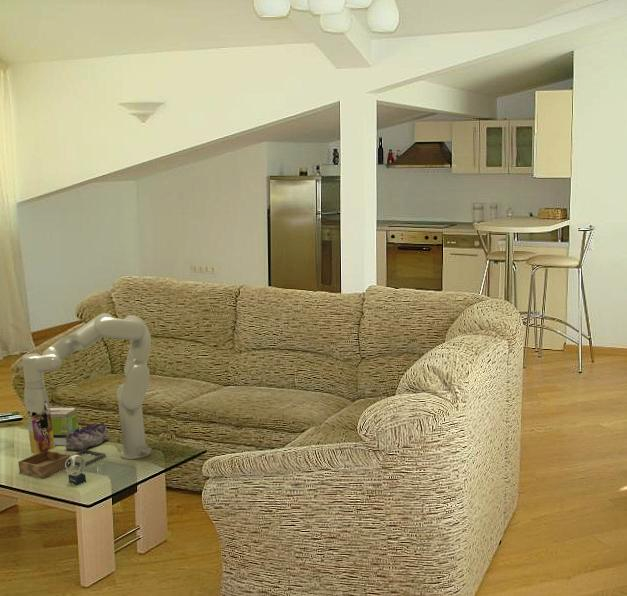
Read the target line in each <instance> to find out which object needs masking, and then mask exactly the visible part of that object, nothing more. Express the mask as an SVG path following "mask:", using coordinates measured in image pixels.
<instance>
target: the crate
mask: <svg viewBox="0 0 627 596" xmlns="http://www.w3.org/2000/svg"><path fill="white" fill-rule="evenodd" d="M70 456H71V454H67V453H62V452H57V451H53V450H48V451H45V452H42V453H39V454H33V455H31V456H28V457H26V458H23V459H21V460H19V461H18V470H19V474H21V473H22V475H26V476H30V477H34V476H35V477H36V478H38V477H39V478H40V479H43V480H44V479H47V478H49V477H52V476H53V475H56V474H57V472H58V473H60V472H62V471H64V470H66V469H65V462H66V460H67V459H68V458H70ZM63 469H64V470H63ZM61 470H62V471H61ZM59 471H60V472H59ZM55 473H56V474H55ZM46 477H47V478H46Z"/></svg>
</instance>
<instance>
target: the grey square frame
mask: <svg viewBox="0 0 627 596" xmlns="http://www.w3.org/2000/svg"><path fill="white" fill-rule="evenodd" d="M85 453H86V454H85ZM82 454H83V455H88V454H91V455H90V456H93V455H95V456H94V458H91V459H89V460H87V461H85V466H86V467H88V466H90V465H92V464H94V463H93V462H95V463H97V462H99V461H101V460H103V459H105V458H107V455H106V454H107V453H103V452H99V451H93V450H87V449H85V450H82V451H79V452H76V453H74V454H72V455H71V454H70V457H71V456H73V455H79V456H80V455H81V456H83V455H82ZM104 457H105V458H104ZM100 459H101V460H100ZM98 460H99V461H98ZM96 461H97V462H96ZM91 463H92V464H91ZM80 464H81V461H76V460H75V465H77V466H76V467H80ZM89 464H90V465H89ZM87 465H88V466H87Z"/></svg>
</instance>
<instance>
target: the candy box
mask: <svg viewBox="0 0 627 596" xmlns="http://www.w3.org/2000/svg"><path fill="white" fill-rule="evenodd" d="M42 414H43V415H44V413H42ZM26 418H27V419H26V422H27V423H26V424H27V430H28V438H29V444H30V452H31V453H32V454H33V455H35V454H39V453H42V452H45V451H51V450H53V449H55V446H56V445H54V438H53V430H52V423H51V415H50V414H49V415H48V418H47V422H48V427H46V428H44V429H41V424H40V419H41V417H40V414H37V415H34V416H30V415H29V416H28V417H26Z"/></svg>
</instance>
